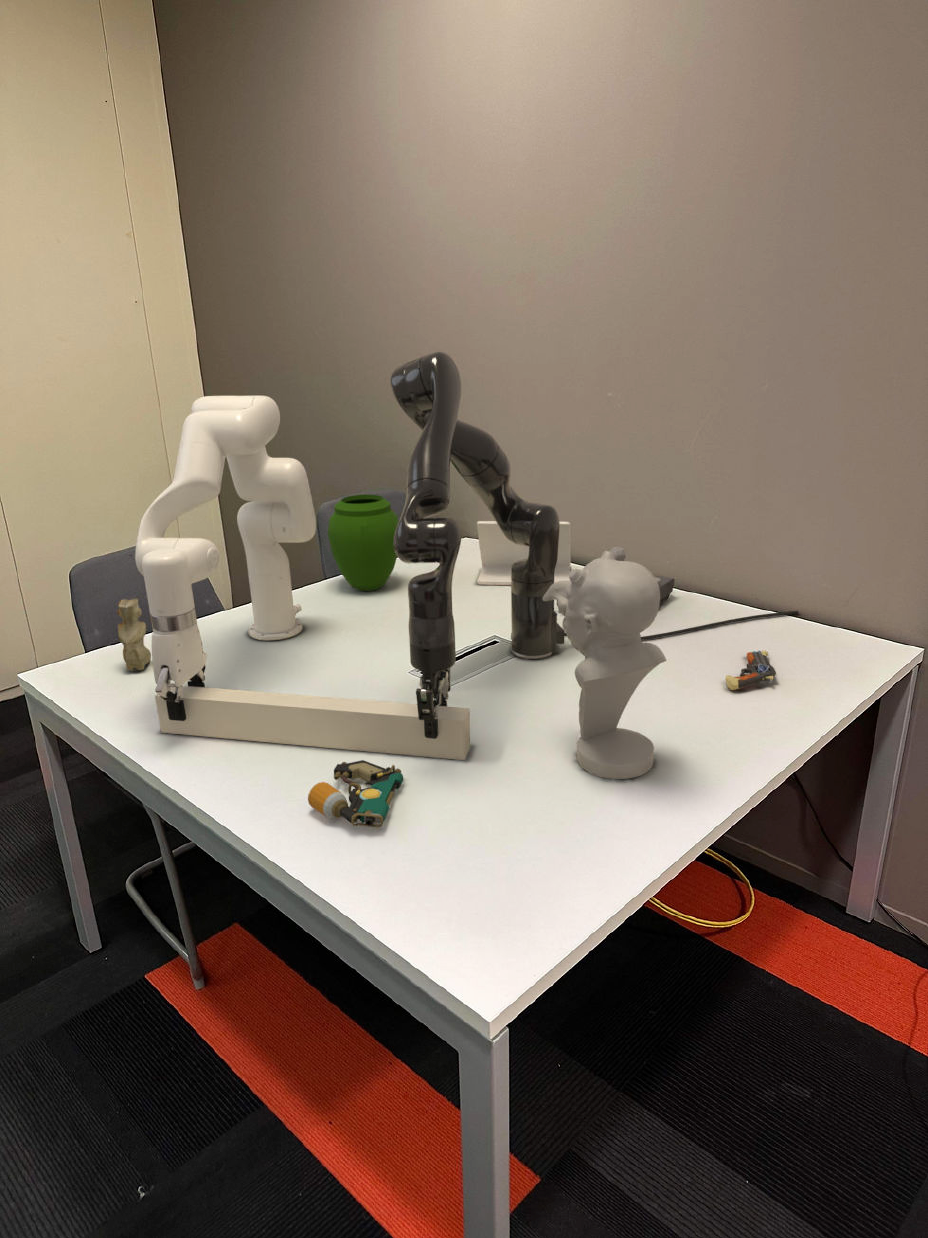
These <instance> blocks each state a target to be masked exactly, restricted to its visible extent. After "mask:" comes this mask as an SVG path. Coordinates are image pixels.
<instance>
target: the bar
mask: <svg viewBox="0 0 928 1238" xmlns="http://www.w3.org/2000/svg"><path fill="white" fill-rule="evenodd" d="M175 689H176V687H171V688H170V691H171V692H173V693H174V694H175ZM154 699H155V705H156V710H157V714H158V722H159V727H160V733H161V734H174V735H175V734H176V735H184V736H193V737H194V736H195V737H206V738H215V739H229V740H237V741H238V740H239V741H249V742H260V743H270V744H271V743H272V744H282V745H283V744H284V745H291V746H292V745H293V746H305V747H314V748H315V747H316V748H326V749H336V750H347V751H348V750H349V751H359V752H369V753H370V752H371V753H380V754H391V755H401V756H402V755H404V756H415V757H423V758H425V757H426V758H433V759H434V758H436V759H446V760H455V761H456V760H458V761H465V760H466V758H467V756H468V754H469V752H470V749H471V744H472V743H471V710H470V709H471V708H470V707H459V706H448V705H447V706H438V737H437V738H436V739H432V738H426V737H425V732H424V720H419V717H418V707H417V703H411V702H410V703H409V702H395V701H384V700H370V699H357V698H343V697H331V696H318V695H304V694H295V693H294V694H292V693H280V692H268V691H254V690H242V689H230V688H216V687H205V688H204V687H192V686H188V685H182V691H181V700H183V701H184V707H185V713H186V720H185V721H176V720H170V719H169V717H168V711H167V705H166V701H164V700H163V698H161V696H160V695H159V694H157V693H156V694H155V695H154ZM427 711H429V710H427ZM429 712H430V711H429Z"/></svg>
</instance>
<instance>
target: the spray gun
mask: <svg viewBox="0 0 928 1238" xmlns="http://www.w3.org/2000/svg"><path fill="white" fill-rule="evenodd" d="M333 779H334V780H335V781H338V780H339V779H341V781H342V782H343V783H344V784H347V785H348V787H347V792H348V801H349V802H348V801H347V797H346V796H345V794H344V793H343V792H342V791H340V790H338V789H337V788H335V787H334V786H333V785H331V784H330V783H328V782H325V781H320V782H317V783H316V784H314V785H313V787H312V788H310V790H309V793H308V795H307V802H308V805H309V806H310V807H311V808H312V809H314V810H315V811H317V812H318V813H320V814H322V815H323V816H324V817H326V818H330V819H341V818H343V819H344V820H345V821H347V822H348V823H349V824H351V825H352V826H353V827H359V826H360V827H361V826H362V827H369V828H370V827H371V828H378V829H379V828H380V829H381V828H382V827H383V826H384V823H385V820H386V818H387V815H388V814H389V811H390V809H391V808H390V804H391V803H392V801H393V798H394V796H395V791H396V790H399V789H400V788H401V786H402V784H403V782H404V775H403V774H402V770H401V769H400V768H398V767H397V768H396V766H395V765H394V764H392V765H391V767H390V766H388V767H386V768H384V767H383V766H380V765H377V764H374V763H372V762H369V761H367V760H364V759H361V760H356V761H352V762H346V761H342V762H341V763H337V764H336V766H335V767H334V769H333ZM357 779H360V780H362V781H365V783H364V785H366V786H370V787H366V788H362V785H360V784H359V783H357V782H355V781H353V780H357ZM352 787H353V788H352ZM349 803H350V805H349ZM358 821H360V822H358Z"/></svg>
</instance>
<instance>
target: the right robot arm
mask: <svg viewBox="0 0 928 1238" xmlns="http://www.w3.org/2000/svg"><path fill="white" fill-rule="evenodd" d="M389 384H390V389H391V392H392V394H393V397H394V399H395V400H396V402H397V404H398V405H399V407H400V408H401V409H402V411H403V412H404V413H405V414H406V415H407V416H408V417H409V419H410V420H411V421H413V423H414V424H416V426H417V427H419V428H420V429H421V431H422V432H421V433H420V435H419V436H418V438H417V441H416V443H415V444H414V446H413V449H412V450H411V452H410V455H409V458H408V462H407V468H406V490H405V491H406V492H405V501H404V505H403V509H402V511H401V514H400V516H399V518H398V520H399V522H398V524H397V527H396V530H395V534H394V540H393V546H394V551H395V553H396V555H397V559H399V560H400V561H401V562H403V563H405V564H439V565H438V566H437V568H435V569H434V570H432V571H429V572H425V573H422V574H418V575H415V576H413V577H411V579H410V580H409V581H408V585H407V595H408V596H407V597H408V612H409V613H408V637H409V638H408V643H409V658H410V659H409V660H410V665H411V666H412V667H413V668H414V669H415V670H418V671H419V672H420V673H421V675H420V678H419V687H420V688H416V690H415V696H416V697H415V698H416V704H417V707H418V717H419V720H424V732H425V737H426V738H432V739H436V738H437V737H438V706H448V702H447V701H448V699H449V693H450V692H451V690H452V689H451V688H452V687H451V668H453V666H454V665H455V664H456V661H457V654H456V633H455V632H456V630H455V629H456V627H455V619H454V615H453V613H454V612H453V579H454V577H453V576H454V572H455V566H456V563H457V560H458V555H459V552H460V548H461V545H462V532H461V528H460V526H459V525H458V523H457V522H456V521H455V520H453V519H452V518H449V517H433V516H436V515H439V514H442V513H443V512H445V511H446V510H447V509H448V508H449V505H450V498H451V497H450V495H451V494H450V492H451V491H450V490H451V488H450V485H451V483H450V481H451V480H450V479H451V478H450V477H451V476H450V475H451V473H450V470H451V468H450V467H451V464H452V466H453V467H454V468H455V470H456V471H457V473H458V474H459V475H460V476H461V477H462V479H463V480H464V481H465V482H466V484H467V485H468V486H469V487H470V488H471V489H472V490H473V492H474V493H475V494H476V496H477V497H478V498H479V500H480V501H481V502H482V503H483V504H484V505H485V507H486V509H487V510H488V511H489V512H490V514H491V517H493V519H494V521H496V523H497V524H498V526H499V528H500V529H501V531H502V532H503V534H504V535H505V537H506V538H507V539H508V540H510V541H511V542H513V543H515V544H519V545H523V546H528V547H529V555H528V558H526V559H522V560H519V561H516V562H515V563H513V565H512V567H511V585H510V588H511V589H510V597H511V599H510V603H511V604H510V606H511V607H510V609H511V610H510V615H511V617H510V618H511V621H510V622H511V633H510V640H511V643H510V644H511V647H510V651H511V653H512V655H513V656H515V657H518V658H521V659H525V660H526V659H527V660H540V659H545V658H548V657H550V656H552V655H557V654H558V653H557V650H558V649H557V648H558V647H557V645H564V644H565V637H567V635H566V632H565V631H564V630H563V627H562V625H560V624H559V623H558V613H557V612H556V611H555V600H550V601H543V596H544V595H545V594H546V592H547V591H548V589H549V588H550V586H551V585H552V584H554V572H555V567H556V564H557V559H558V544H559V528H560V526H559V522H560V517H559V514H558V511H557V509H556V508H555V507H554V506H553V505H549V504H547V503H546V504H545V503H539V502H533V501H528V500H525V499H523V498H522V497H520V496H519V495H518V494H517V492H516V491H515V490H514V489H513V487H512V485H510V479H511V463H510V460H509V458H508V457H507V454H506V453H505V452H504V450H503V449H502V447H501V446H500V444H499V443H498V441H497V440H496V439H495V438H494V436H492V435H491V434H490V433H489V432H488V431H486V430H484V429H482V428H480V427H479V426H476V425H474V424H472V423H471V424H470V423H469V422H467V421H464V420H461V419H458V415H459V410H460V409H459V408H460V404H461V399H462V398H461V396H462V379H461V374H460V371H459V369H458V366H457V364H456V363H455V361H454V359H453V358H452V357H451V356H450V355H449V354H448V353H447V352H445V351H441V350H440V351H433V352H430V353H428V354H424V355H423V356H421V357H419V358H416V359H414V360H411V361H409V362H406V363H403V364H401V365H399V366H398V367H397V368H395V369H394V370H393V371H392V372H391V375H390V379H389ZM429 517H430V518H429ZM799 614H800V613H799V610H793V611H782V612H781V611H780V612H770V613H762V614H756V615H751V616H744V617H738V618H732V619H727V620H722V621H717V622H712V623H707V624H702V625H697V626H693V627H687V628H683V629H679V630H674V631H668V632H663V633H658V634H657V633H656V634H651V635H650V634H649V635H645V636H641V641H645V640H651V639H652V640H653V639H657V638H664V637H669V636H674V635H678V634H685V633H690V632H695V631H699V630H702V629H703V630H704V629H708V628H713V627H717V626H723V625H727V624H732V623H738V622H743V621H749V620H755V619H756V620H757V619H763V618H771V617H779V616H788V615H789V616H791V615H799ZM427 710H429V711H430V712H429V711H427Z"/></svg>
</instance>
